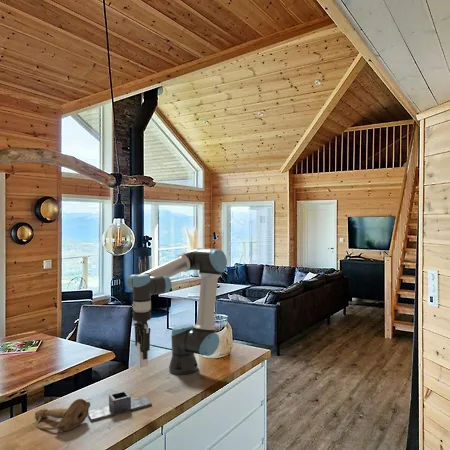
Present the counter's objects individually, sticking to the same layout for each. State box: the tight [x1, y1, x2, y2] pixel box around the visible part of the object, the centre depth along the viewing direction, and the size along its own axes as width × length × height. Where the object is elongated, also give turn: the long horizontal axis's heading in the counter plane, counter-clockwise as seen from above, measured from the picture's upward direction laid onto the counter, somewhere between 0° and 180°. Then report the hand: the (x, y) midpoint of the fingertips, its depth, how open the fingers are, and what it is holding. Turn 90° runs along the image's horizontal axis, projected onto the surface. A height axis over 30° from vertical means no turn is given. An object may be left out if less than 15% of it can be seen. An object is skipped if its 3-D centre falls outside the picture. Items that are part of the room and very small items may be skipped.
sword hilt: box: [34, 398, 91, 433], centre depth 161 cm, size 10×24×15 cm
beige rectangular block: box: [136, 342, 149, 369], centre depth 175 cm, size 4×4×10 cm
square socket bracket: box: [87, 390, 153, 423], centre depth 170 cm, size 25×8×6 cm, turn 121°
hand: (142, 364), depth 175 cm, fingers closed on beige rectangular block, 4 cm apart
